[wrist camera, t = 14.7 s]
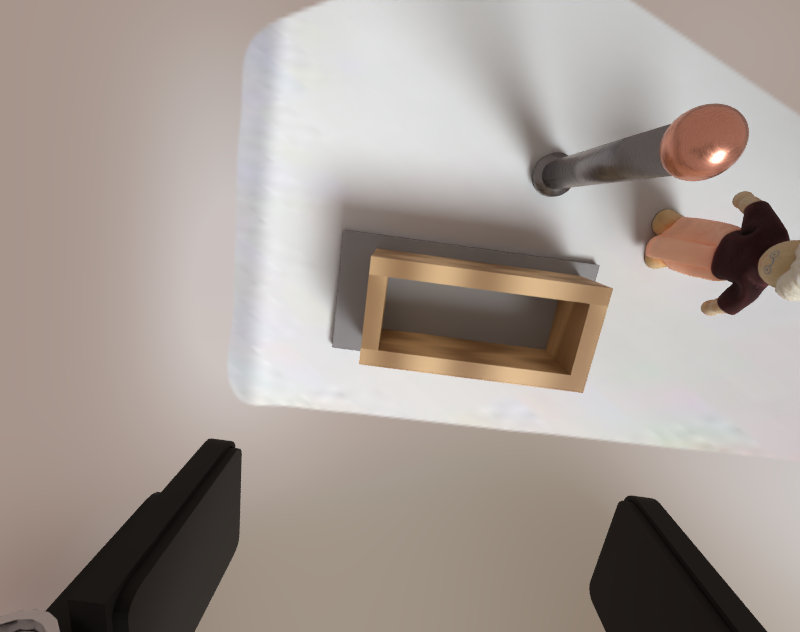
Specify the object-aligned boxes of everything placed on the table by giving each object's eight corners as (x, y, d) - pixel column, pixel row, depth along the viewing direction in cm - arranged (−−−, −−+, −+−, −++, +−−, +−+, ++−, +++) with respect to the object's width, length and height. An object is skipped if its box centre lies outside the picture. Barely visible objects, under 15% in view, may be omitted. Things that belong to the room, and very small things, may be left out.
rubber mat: (596, 264, 30) (599, 265, 30) (566, 375, 33) (568, 378, 33) (344, 229, 30) (342, 230, 29) (333, 345, 33) (332, 347, 32)
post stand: (577, 156, 28) (791, 94, 13) (567, 199, 29) (756, 190, 13) (537, 151, 28) (701, 81, 13) (528, 193, 29) (672, 178, 13)
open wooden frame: (579, 275, 30) (612, 288, 25) (556, 364, 32) (582, 392, 27) (376, 248, 30) (371, 256, 25) (366, 340, 32) (359, 364, 27)
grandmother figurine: (641, 198, 29) (812, 192, 17) (693, 193, 29) (904, 183, 17) (635, 297, 31) (783, 356, 19) (684, 292, 31) (865, 349, 19)
